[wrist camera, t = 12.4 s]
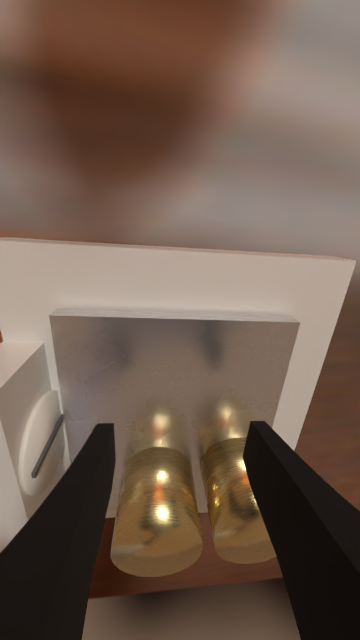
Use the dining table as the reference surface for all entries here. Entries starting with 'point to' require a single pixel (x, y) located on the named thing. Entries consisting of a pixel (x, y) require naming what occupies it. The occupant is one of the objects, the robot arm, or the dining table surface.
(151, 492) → the brass weight
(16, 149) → the dining table surface
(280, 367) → the scale pan
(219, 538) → the brass weight
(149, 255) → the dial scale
